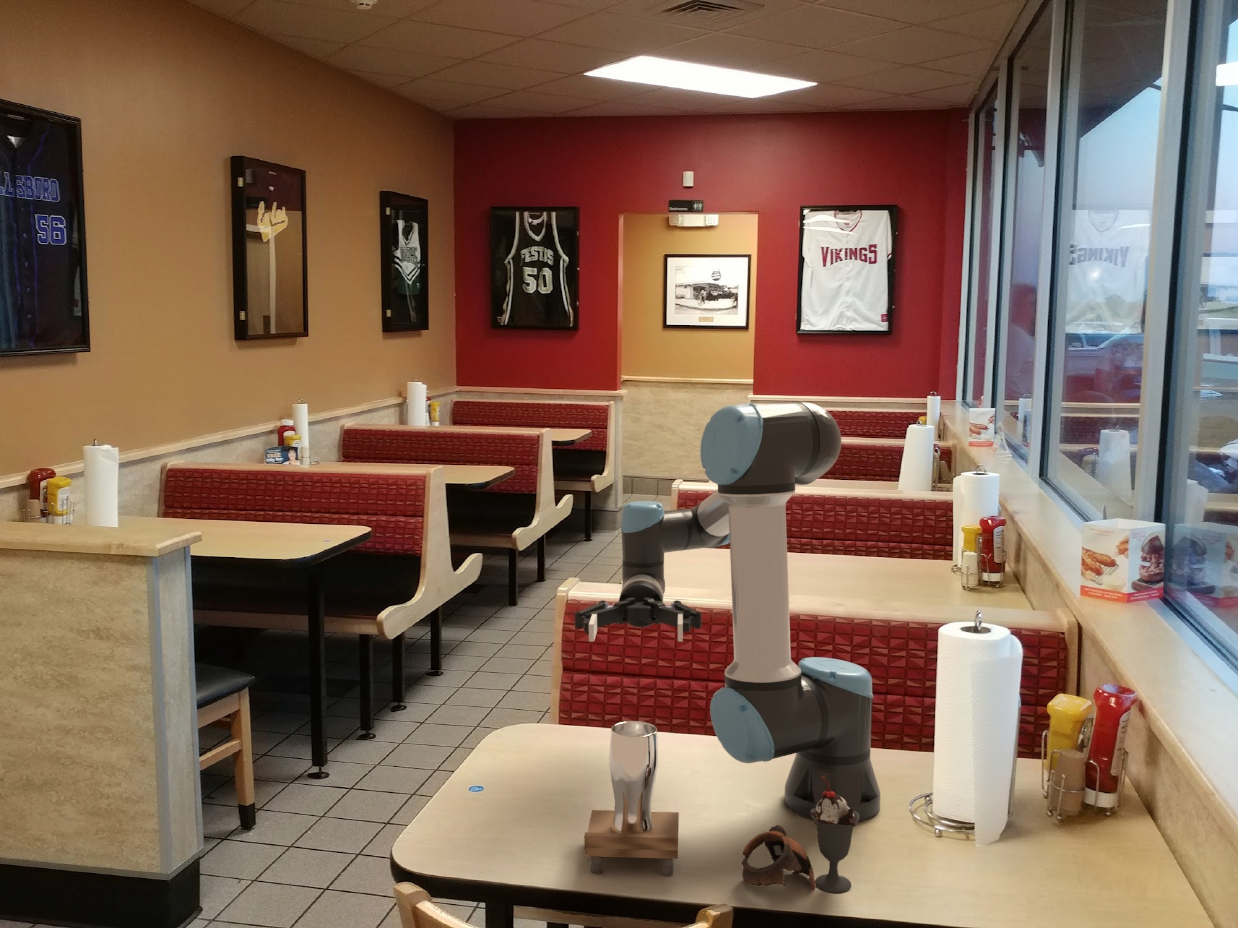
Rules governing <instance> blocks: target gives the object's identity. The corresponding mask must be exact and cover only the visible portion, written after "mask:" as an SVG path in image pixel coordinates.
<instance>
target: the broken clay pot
mask: <svg viewBox="0 0 1238 928" xmlns="http://www.w3.org/2000/svg"><path fill="white" fill-rule="evenodd" d="M763 844H764V846H765V848H766V850H767V851H768V852H769V854H770V858H771V860H772V863H770V864H768V865H766V866H763V867H755V866H752V865H750V863H749V862H748V861H749V858H750V856H751V855H752V853H753V852H754V851H755V850H756V849H757V848H758V847H760V846H762V845H763ZM741 855H743V856H744V858H742V860H741V863H740V864H741V865H742V870H741V871H742V872H741V874H742V881H743V882H744V884H746V885H750V886H754V887H757V888H759V887H760V888H761V887H768V886H771V885H773V884H775V885H776V884H779V885H781V886H786V883H785V877H784V870H786V871H788V872H793V873H795V874H803V875H806V876H807V877H808V881H809V882H810V888H811V890H812V891H815V890H816V887H817V886H816V884H815V880H816V878H815V874H814V869H813V865H812V863H811V860H810V858H809V856H808V854H807V852H806V851H805V849H804V848H803V847H802V846H801V844H800V843H798V842H797V841H796V840H794V839H792V838H790V837H788V836H787V831H786V830H785V829H784V828H783V826H782V825H778V824H776V825H774V826H771V827H770V829H768V831H764V832H761V833H759V834H757V835H756V836H754V837H753V838H752V839H750V840H749V841H748V843H746V845H745V846H744V847H743V850H742V852H741Z"/></svg>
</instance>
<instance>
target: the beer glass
mask: <svg viewBox="0 0 1238 928" xmlns="http://www.w3.org/2000/svg"><path fill="white" fill-rule="evenodd" d="M610 730H611V731H610V741H609V756H608V757H609V770H610V771H609V772H610V779H611V784H612V789H613V797H614V798H613V799H614V810H613V811H614V817H613V822H612V830H613V832H614V833H628V834H651V833H652V832H653V830H654V825H653V819H652V813H651V812H652V800H653V795H654V790H655V789H654V788H655V784H656V780H657V772H658V766H659V765H658V763H659V745H658V729H657V726H656V725H654V724H652V723H649V722H647V721H642V720H641V721H640V720H625V721H622V722H621V721H619V722H617V723H615V724H614V725H612V726H611V729H610Z"/></svg>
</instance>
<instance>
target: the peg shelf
mask: <svg viewBox="0 0 1238 928" xmlns="http://www.w3.org/2000/svg"><path fill="white" fill-rule="evenodd" d="M614 811H615V810H608V809H607V810H606V809H605V810H604V809H602V810H601V809H591V812H590V818H589V823H588V827H587V831H586V832H584V834H583V835H584V837H583V838H584V839H583V841H584V845H583V847H584V853H583V854H584V857H590V858H589V859H590V861H589V862H590V869H589V870H590V873H591V874H593V875H600V874H601V873H602V872H603V861H602V860H603V857H604V858H605V857H606V858H609V857H611V858H638V859H639V858H640V859H661V875H662V876H663V877H671V876H673V874H674V873H673V872H674V859H679V826H680V825H679V824H680V823H679V821H680V818H679V817H680V813H679V812H678V811H677V812H676V811H651V813H652V819H653V825H654V830H653V832H652V833H651V834H628V833H614V832H613V830H612V822H613V817H614Z"/></svg>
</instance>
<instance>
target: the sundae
mask: <svg viewBox="0 0 1238 928" xmlns="http://www.w3.org/2000/svg"><path fill="white" fill-rule="evenodd" d="M821 779H822V780H823V781H824V782H826V784H827V791H825V792H823V799H821V800H820V801H818V804H817V806H816V808H814V809H812V810H811V811H810V816H811V817H812V818H813V819H812V820H813V821H814V825H816V826H815V827H816V835H817V836H816V837H817V844H818V849H819V853H821V855H822V856H823V857H824V858H825V859H827V861H828V862H829V866H828V867H829V869H828V873H825V874H821V875H819V876H817V877H816V878H815V884H816V887H817V888H819V889H820V890H822V891H823V892H826V893H830V894H840V893H846V892H848V891H849V890H850V889H851V888H852V882H851V881H850V880H849V879H848V878H847V877H845V876H843V875H840V874H839V872H838V870H839V869H838V864H839V862H840V861H842V860H844V859H845V858H846V857H847V856H848V854H849V852H850V847H851V843H852V838H853V831H854V828H855V826H856V825H857V824H858V822H859V821H858V820H859V818H860V816H859V813H857V812H856V811H853V810H854V808H849V807H848V806H847V804H848V803H846V801H845V800H844V799H843V798H842V797H841V796H839V795H836V794H835V793H834V792H833V791H831V789H830V786H829V784H828V782H827V781H826V780H825V777H822V776H821ZM828 786H829V788H828ZM828 789H829V790H830V791H828Z"/></svg>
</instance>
